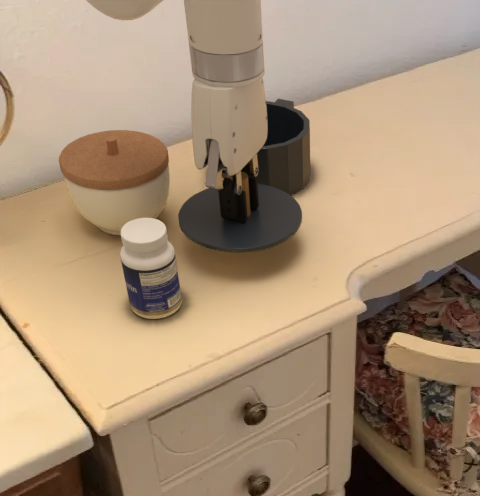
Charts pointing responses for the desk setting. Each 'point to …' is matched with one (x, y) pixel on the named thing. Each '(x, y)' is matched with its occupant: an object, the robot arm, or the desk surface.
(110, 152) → the lidded bowl
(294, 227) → the pan lid
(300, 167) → the pan
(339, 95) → the desk surface
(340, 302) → the desk surface
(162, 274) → the pill bottle
